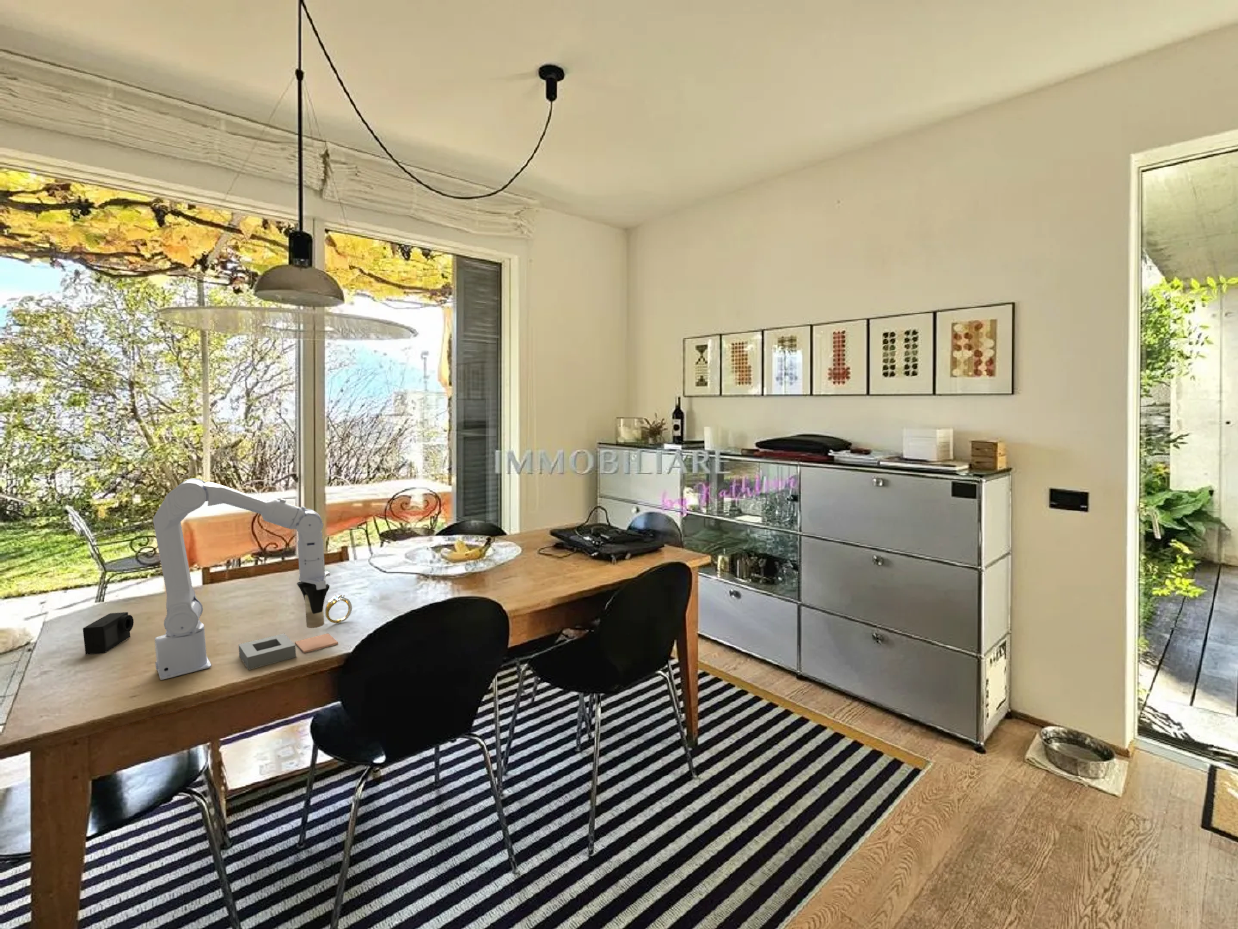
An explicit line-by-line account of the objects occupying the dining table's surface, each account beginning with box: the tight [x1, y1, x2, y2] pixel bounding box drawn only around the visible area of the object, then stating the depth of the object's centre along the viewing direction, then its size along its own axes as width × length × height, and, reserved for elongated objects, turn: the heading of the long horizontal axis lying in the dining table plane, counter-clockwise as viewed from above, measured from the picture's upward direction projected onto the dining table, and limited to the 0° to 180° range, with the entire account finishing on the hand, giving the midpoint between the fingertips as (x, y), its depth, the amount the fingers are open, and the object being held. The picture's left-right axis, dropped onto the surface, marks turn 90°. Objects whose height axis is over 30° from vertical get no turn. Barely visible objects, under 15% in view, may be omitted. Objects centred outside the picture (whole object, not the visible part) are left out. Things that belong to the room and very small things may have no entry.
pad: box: [294, 632, 339, 654], centre depth 150 cm, size 8×8×1 cm
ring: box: [324, 594, 353, 625], centre depth 163 cm, size 7×3×8 cm, turn 132°
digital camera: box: [82, 611, 135, 655], centre depth 149 cm, size 10×5×7 cm, turn 12°
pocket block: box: [238, 632, 297, 671], centre depth 142 cm, size 10×10×3 cm
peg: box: [304, 594, 325, 629], centre depth 149 cm, size 4×4×8 cm
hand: (314, 610), depth 149 cm, fingers closed on peg, 4 cm apart
